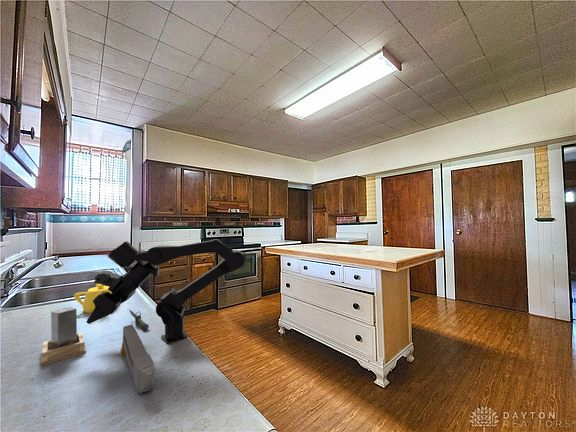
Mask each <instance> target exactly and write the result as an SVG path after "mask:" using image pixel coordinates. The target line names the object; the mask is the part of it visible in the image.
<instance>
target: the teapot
mask: <svg viewBox="0 0 576 432" xmlns="http://www.w3.org/2000/svg"><path fill="white" fill-rule="evenodd" d="M108 288H109V286H105V285H102V284H96V283H95V287H91V288H89V289H87V291H82V292H77V293H74V295H73V297H74V299H75V300H76V301H77V303H79V304H80V305H82V309H83V311H84V312H85V313H87V314H89V315H91V313H92V312H93V310H94V309H95V305H94V303H93V300H94V299H95V298H96V297H97V296H98V295H99V294H101V293H103V292H109V293H111V291H110V290H108ZM83 295H84V299H83V300H82V299H81V296H83Z"/></svg>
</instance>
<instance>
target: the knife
mask: <svg viewBox="0 0 576 432" xmlns="http://www.w3.org/2000/svg"><path fill="white" fill-rule="evenodd" d="M128 310H129V313H130V314H131V315H132V317H133V318H134V323H135V325H136V326H138V325H140V327H141V328H142V330H143V331H147V330H148V329H149V328H150V326H149V324H147V323H146V322H144V320H142V316H141V315H142V313H141V311H137V312H134V311H132V310H131V309H128ZM138 313H139V315H137V314H138Z"/></svg>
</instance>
